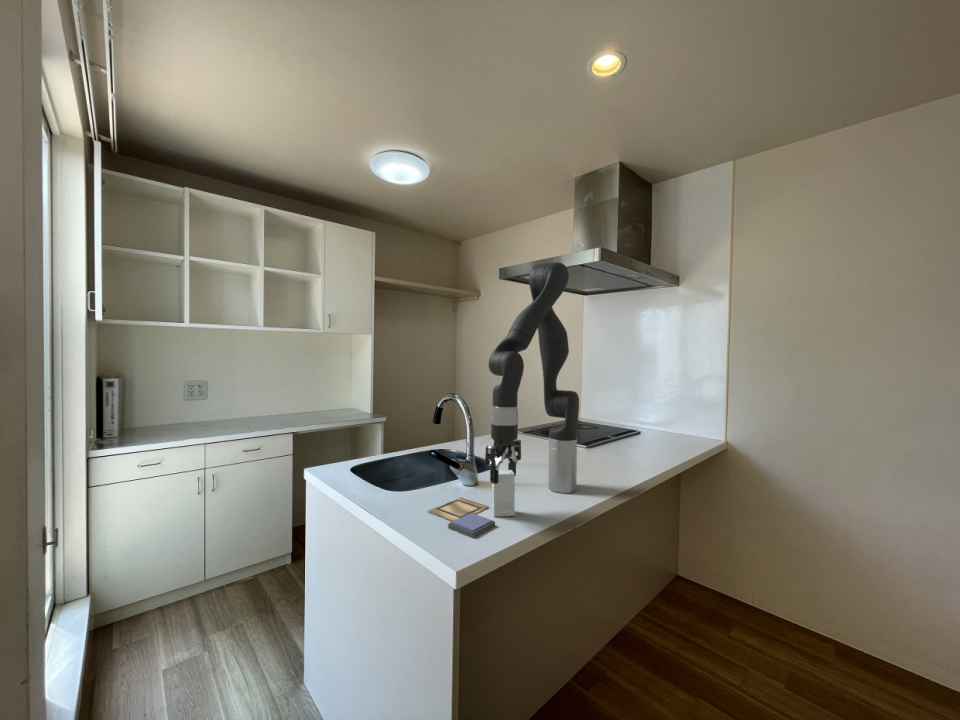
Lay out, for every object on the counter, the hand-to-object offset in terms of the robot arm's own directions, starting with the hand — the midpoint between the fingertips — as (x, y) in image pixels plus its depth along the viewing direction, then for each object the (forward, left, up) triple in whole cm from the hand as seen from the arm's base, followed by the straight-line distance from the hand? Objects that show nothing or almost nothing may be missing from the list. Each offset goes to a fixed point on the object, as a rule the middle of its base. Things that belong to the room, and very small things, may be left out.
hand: (503, 479), depth 110 cm
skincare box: (0, 0, -10) cm, 10 cm away
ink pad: (+12, -2, -10) cm, 15 cm away
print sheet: (+6, -12, -10) cm, 16 cm away
